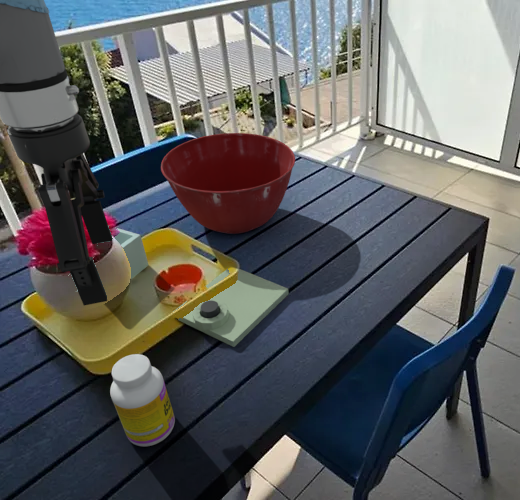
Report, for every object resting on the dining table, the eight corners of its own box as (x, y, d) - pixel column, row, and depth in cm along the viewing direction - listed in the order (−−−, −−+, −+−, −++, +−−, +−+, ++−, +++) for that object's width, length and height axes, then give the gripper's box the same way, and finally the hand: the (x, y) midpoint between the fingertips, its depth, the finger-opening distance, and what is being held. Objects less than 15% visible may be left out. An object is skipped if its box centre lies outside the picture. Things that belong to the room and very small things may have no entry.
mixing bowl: (322, 213, 120) (321, 154, 111) (233, 271, 101) (223, 205, 92) (240, 178, 133) (234, 123, 124) (148, 223, 115) (132, 162, 106)
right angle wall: (103, 250, 106) (93, 221, 101) (148, 265, 102) (140, 234, 98) (56, 284, 97) (43, 252, 92) (104, 300, 93) (93, 269, 89)
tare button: (211, 320, 86) (209, 314, 85) (198, 314, 87) (196, 308, 86) (222, 310, 88) (221, 304, 87) (210, 304, 89) (208, 298, 88)
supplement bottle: (179, 438, 70) (161, 378, 63) (129, 455, 68) (104, 395, 60) (172, 402, 75) (154, 342, 68) (125, 417, 73) (101, 357, 65)
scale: (232, 349, 84) (230, 336, 82) (171, 319, 90) (168, 307, 88) (288, 294, 96) (287, 282, 94) (232, 270, 101) (230, 259, 99)
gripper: (67, 164, 47) (126, 325, 59) (89, 81, 66) (130, 217, 78) (-24, 175, 45) (56, 340, 57) (26, 86, 64) (78, 225, 76)
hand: (99, 269), depth 68 cm, fingers open, 13 cm apart
